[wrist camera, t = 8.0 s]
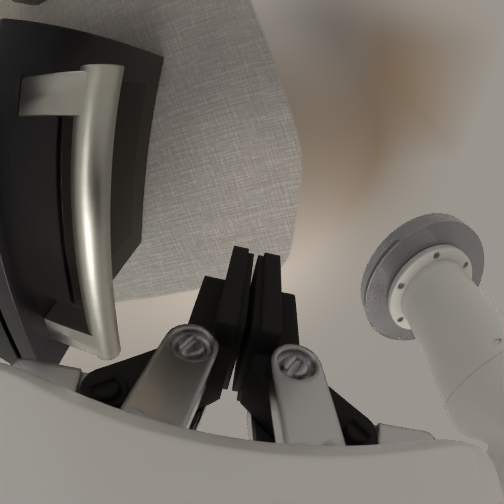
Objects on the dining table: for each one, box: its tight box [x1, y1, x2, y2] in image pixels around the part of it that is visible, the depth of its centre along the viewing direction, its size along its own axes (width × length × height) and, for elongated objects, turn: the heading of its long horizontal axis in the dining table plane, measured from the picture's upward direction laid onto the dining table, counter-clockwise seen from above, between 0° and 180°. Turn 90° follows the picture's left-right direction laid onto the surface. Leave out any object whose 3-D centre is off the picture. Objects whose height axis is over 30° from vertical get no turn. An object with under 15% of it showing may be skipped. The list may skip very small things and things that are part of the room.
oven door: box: [0, 18, 164, 365], centre depth 16 cm, size 6×18×18 cm, turn 168°
